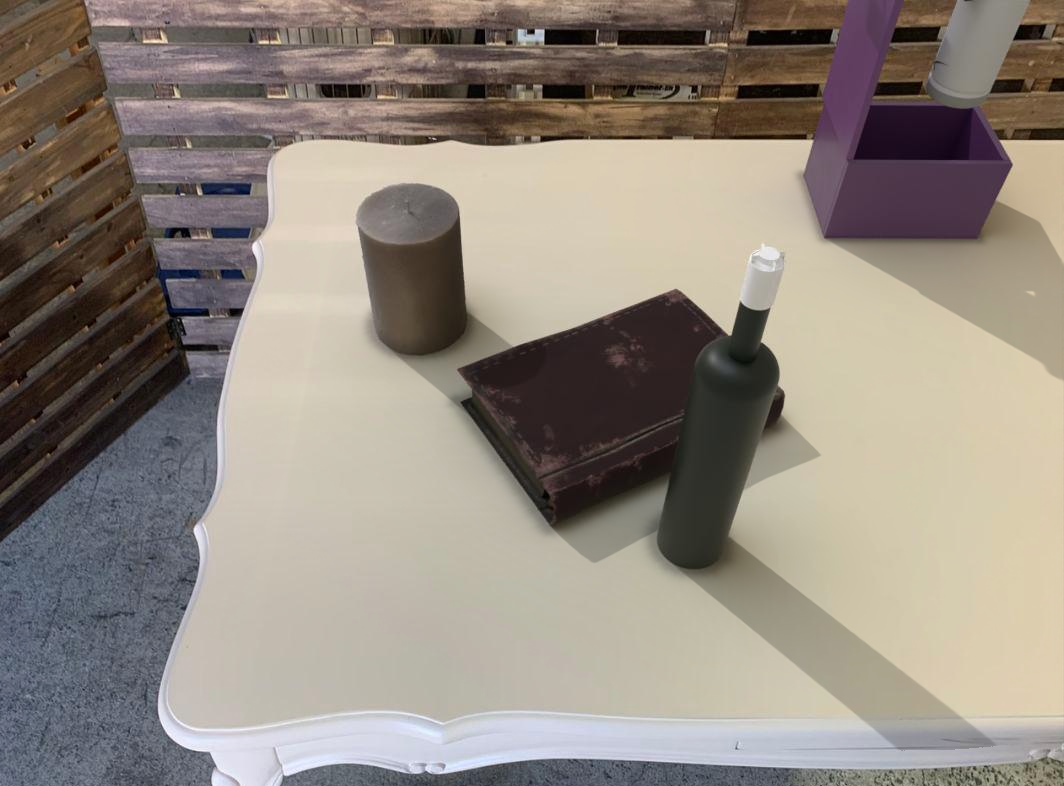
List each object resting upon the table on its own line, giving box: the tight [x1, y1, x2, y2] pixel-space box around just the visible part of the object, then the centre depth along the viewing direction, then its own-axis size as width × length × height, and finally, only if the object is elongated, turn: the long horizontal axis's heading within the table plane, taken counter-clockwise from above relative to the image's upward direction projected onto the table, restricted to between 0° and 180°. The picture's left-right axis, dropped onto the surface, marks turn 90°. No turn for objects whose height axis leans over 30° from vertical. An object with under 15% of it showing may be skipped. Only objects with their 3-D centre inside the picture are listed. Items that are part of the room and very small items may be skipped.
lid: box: [821, 0, 905, 159], centre depth 91 cm, size 18×13×5 cm
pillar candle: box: [355, 182, 468, 356], centre depth 88 cm, size 10×10×15 cm
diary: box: [456, 288, 786, 527], centre depth 85 cm, size 19×25×5 cm
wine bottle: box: [656, 242, 787, 570], centre depth 66 cm, size 6×6×30 cm
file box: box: [803, 101, 1014, 240], centre depth 103 cm, size 18×13×10 cm
